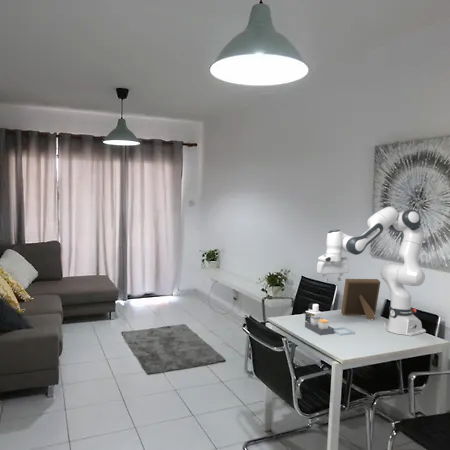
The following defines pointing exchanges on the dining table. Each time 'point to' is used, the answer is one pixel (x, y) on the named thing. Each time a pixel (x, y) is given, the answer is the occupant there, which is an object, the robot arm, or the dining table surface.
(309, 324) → the square-holed metal block
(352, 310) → the photo frame
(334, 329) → the tray
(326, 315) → the dining table surface
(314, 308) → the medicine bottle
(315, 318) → the grey rectangular block
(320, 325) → the plug
